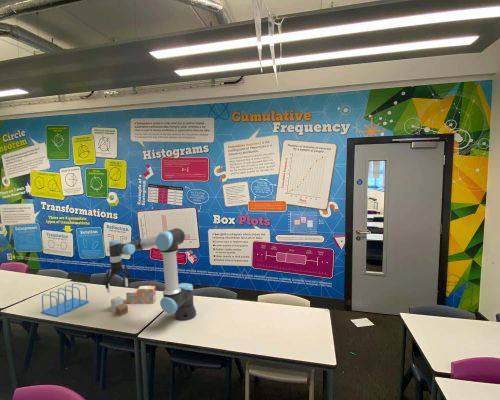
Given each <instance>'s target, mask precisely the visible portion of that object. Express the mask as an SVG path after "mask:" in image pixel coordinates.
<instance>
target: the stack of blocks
mask: <svg viewBox="0 0 500 400" xmlns="http://www.w3.org/2000/svg"><path fill="white" fill-rule="evenodd" d="M125 295H126V299H125V300H126V305H129V304H130V305H137V304H140V305H141V304H143V305H144V304H146V305H150V304H154V303H156V300H157V298H156V297H157V296H156V295H157V293H156V286H155V285H139V286H138V288H137V289H129V290H127V291H126V293H125Z"/></svg>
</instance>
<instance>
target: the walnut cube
mask: <svg viewBox="0 0 500 400" xmlns="http://www.w3.org/2000/svg"><path fill="white" fill-rule="evenodd" d="M128 307H129V305H128V304H125V303H123V304H120V305H118V306H115V314H114V315H116V316H118V317H122V316H125V315H127V314H129V312H128Z"/></svg>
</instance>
